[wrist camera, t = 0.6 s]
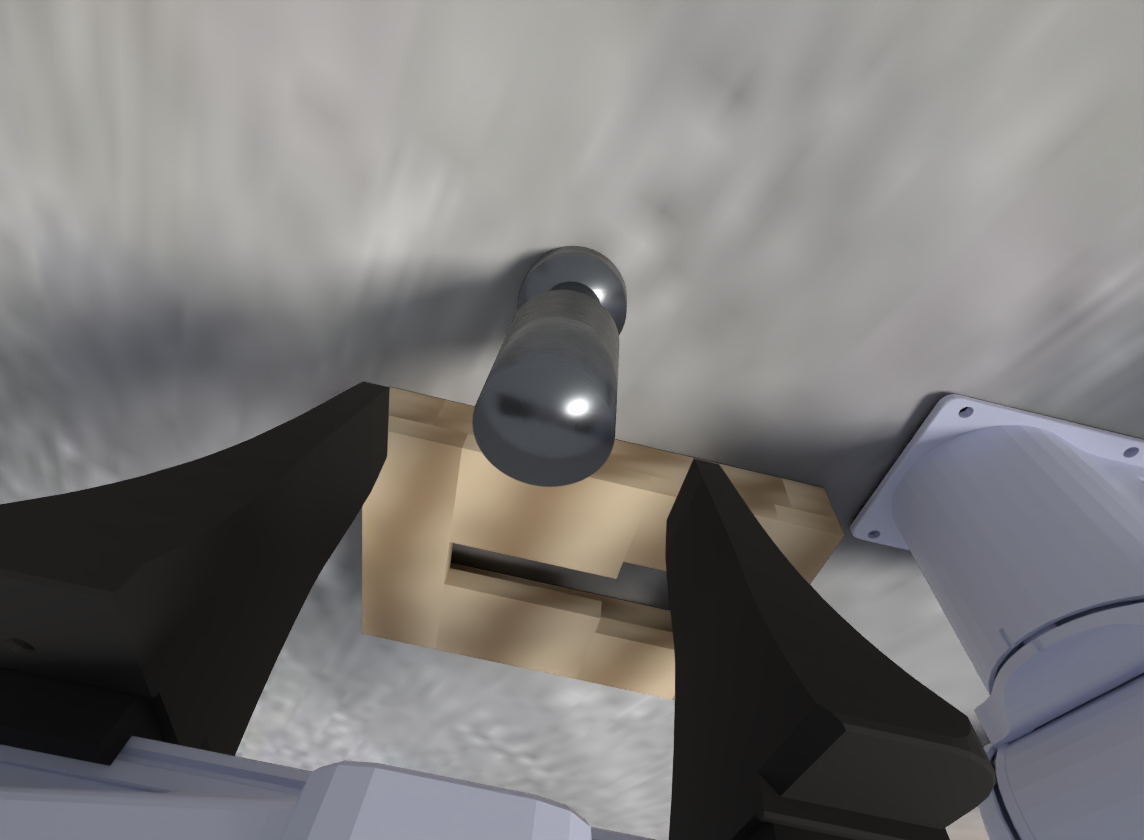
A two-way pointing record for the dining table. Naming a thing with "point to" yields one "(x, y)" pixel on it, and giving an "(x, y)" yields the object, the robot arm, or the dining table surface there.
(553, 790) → the dining table surface
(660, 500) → the keyhole plate
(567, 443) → the key peg
